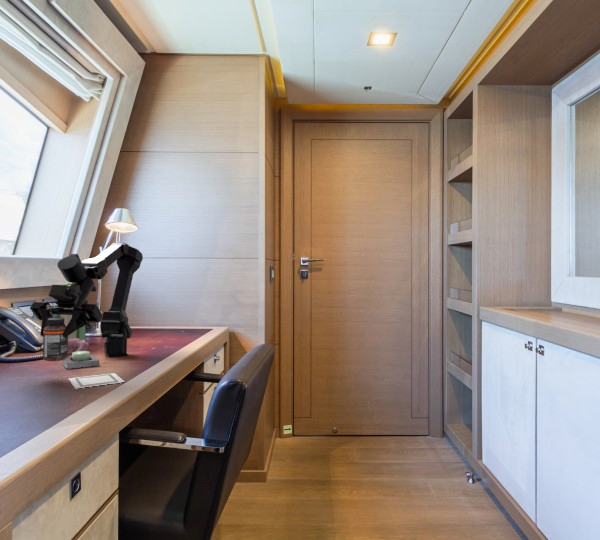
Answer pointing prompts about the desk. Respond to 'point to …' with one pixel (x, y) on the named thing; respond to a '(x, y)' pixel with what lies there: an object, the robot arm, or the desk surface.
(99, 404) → the desk surface
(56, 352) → the supplement bottle
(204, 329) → the desk surface
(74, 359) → the button
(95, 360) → the button housing
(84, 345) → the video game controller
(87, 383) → the paper sheet
